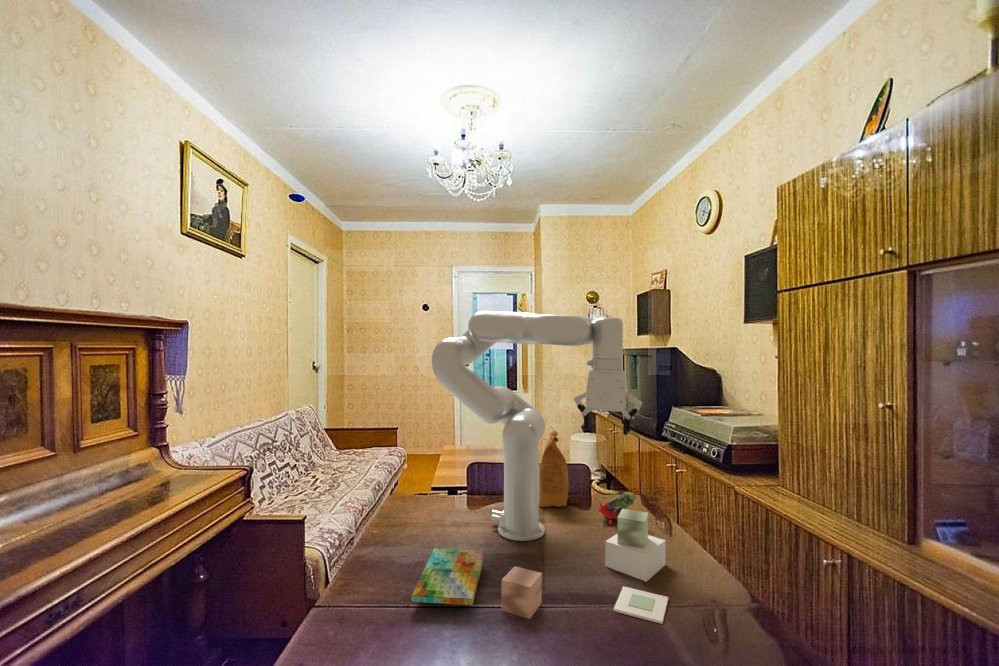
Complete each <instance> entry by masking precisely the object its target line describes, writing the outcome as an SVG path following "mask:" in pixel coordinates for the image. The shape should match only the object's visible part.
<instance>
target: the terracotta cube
mask: <svg viewBox="0 0 999 666" xmlns="http://www.w3.org/2000/svg"><path fill="white" fill-rule="evenodd" d="M542 595H543V572H540V571H535V570H531V569H529V568H528V569H527V568H523V567H519V566H513V567H512V568H511V569H510V570H509V571H508V572H507V574H506V575H505V576H504V577H503V578H502V579H501V599H500V600H501V602H500V603H501V604H500V605H501V608H500V609H501V611H503V612H506V613H509V614H513V615H515V616H518V617H522V618H526V619H529V620H530V619H531V618H532V617H533V616H534V614H535V612H536V611H537V610H538V609H539V607H540V606H541V605H542V602H543V598H542V597H543V596H542Z"/></svg>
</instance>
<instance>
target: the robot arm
mask: <svg viewBox="0 0 999 666" xmlns="http://www.w3.org/2000/svg"><path fill="white" fill-rule="evenodd" d="M623 323H624V322H623V320H622V319H621V318H619V317H613V316H612V317H605V316H604V317H596V318H588V317H583V316H580V315H562V314H561V315H560V314H540V313H533V312H526V311H524V312H522V311H519V312H518V311H499V310H498V311H497V310H481V311H476V312H475V313H473V314H472V315H471V317H470V318H469V320H468V326H467V327H468V329H467V331H466V332H464V333H463V334H462V335H460V336H451V337H446V338H444V339H441V340H440V341H439V342H437V344H436V345H435V346H434V349H433V351H432V355H431V365H432V366H431V367H432V370H433V374H434V376H435V377H436V378H435V379H437V381H438V382H439V383H440V384H441V386H442V387H444V389H446V390H447V391H448V392H449V393H450V394H452V395H453V396H454V397H455V398H456V399H458V401H460V402H461V403H462V404H463V405H464V406H465V407H466V408H468V409H469V410H470V411H471V412H472V413H474V414H475V415H476V416H477V417H478V418H479V419H480V420H482V421H483V422H485V423H487V424H490V425H491V424H497V423H501V424H503V425H504V426H503V429H502V435H501V437H502V440H501V442H502V450H503V510H502V511H500V510H496V509H492V511H491V515H490V516H491V521H497V522H499V524H498V525H497V532H498V534H499V535H500V536H502V537H503V538H504V539H508V540H511V541H517V542H526V541H527V542H529V541H533V540H534V541H535V540H537V539H539V538H541V537H543V536H544V535H545V532H546V531H545V530H546V529H545V525H544V524H543V523H542V522H540V506H539V467H540V454H539V441H540V439H542V437H543V436H544V434H545V431H546V422H545V419H544V417H543V415H542V414H541V413H540V412H539V411H538V410H537V409H535V408H534V407H533V406H532V405H530V404H529V403H528V402H527V401H525V399H523V398H522V397H520V396H519V395H518V394H517V393H516V392H514V391H513V390H512V389H509V388H508V387H505V386H502V385H498V386H497V385H496V386H492V385H490V384H489V383H487V381H485V380H484V379H482V378H481V377H480V376H479V375H478V374H477V373H475V372H473V371H472V370H470V369H469V368H468V367H466V366H469V365H470V364H472V363H474V362H475V361H476V360H477V359H479V358H480V357H481V356H482V355H483V354H485V353H486V352H487V351H488V350H489V349H490V348H492V347H493V346H494V345H495V344H496V343H502V344H503V343H505V344H519V345H520V344H521V345H533V344H534V345H535V344H536V345H538V344H539V345H550V346H551V345H553V346H566V347H567V346H570V347H578V346H584V345H592V358H591V359H590V360H589V359H588V360H587V361H586V366H590V367H591V369H590V370H589V371H588V377H587V381H586V391H585V392H583V393H581V394H579V395H577V396H575V397H574V398H573V400H574V402H575V404H576V406H577V407H576V408H577V409H578V410H579V411H580V412H581V414H582V415H583V427H584V428H585V432H589V431H590V430H591V431H592V426H593V425H592V423H593V421H592V419H593V418H592V414H591V412H592V411H594V410H595V411H605V412H606V411H607V412H621V414H622V415H623V416H624V418H623V423H622V425H623V426H622V427H623V429H622V430H623V431H622V433H623V434H622V435H624V436H627V435H628V434H629V433H630V432H631V430H632V420H631V419H632V418H633V417H634V416H635V415H636V414H637V413H638V412H639V410H640V409H641V407H642V405H643V401H642V400H639V399H638V398H637V397H635V396H633V395H631V394H629V391H628V380H627V375H626V371H625V370H623V367H624V366H623V365H624V364H623V361H624V360H623V356H624V355H623V354H624V352H623V351H624V350H623V349H624V340H623V339H624V324H623ZM583 399H585V405H584V404H583V402H582V400H583ZM629 402H630V403H632V404H634V407H633V409H632V410H630V409H629V408H628V407H629Z"/></svg>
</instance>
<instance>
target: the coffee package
mask: <svg viewBox="0 0 999 666" xmlns="http://www.w3.org/2000/svg"><path fill="white" fill-rule="evenodd" d="M557 436H559V433H558V432H557V431H556V429H553V430H552V431H551V432H550V433H549V438H548V440H547V443H546V445H545V448H544V450H543V454H542V456H541V457H542V458H541V461H540V462H539V508H540V507H541V508H546V507H558V508H560V507H561V508H562V507H566V506H567V502H568V495H569V479H570V478H569V472H568V471H569V470H568V465H567V460H566V458H565V456H564V455H563V452H562V451H561V449H560V448H559V447H558V445H557V443H558V442H559V439H558V437H557Z"/></svg>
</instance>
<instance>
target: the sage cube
mask: <svg viewBox="0 0 999 666" xmlns="http://www.w3.org/2000/svg"><path fill="white" fill-rule="evenodd" d="M617 533H618V538H617V544H621V545H627V546H632V547H638V548H643V549H645V546H646V543H647V540H648V535H649V512H645V511H639V510H633V509H632V510H631V509H627V508H625V509H622V510H621V512H620V514H619V516H618V517H617Z"/></svg>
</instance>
